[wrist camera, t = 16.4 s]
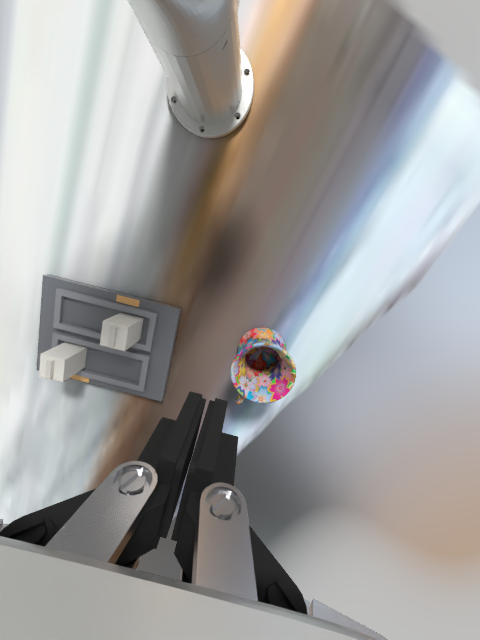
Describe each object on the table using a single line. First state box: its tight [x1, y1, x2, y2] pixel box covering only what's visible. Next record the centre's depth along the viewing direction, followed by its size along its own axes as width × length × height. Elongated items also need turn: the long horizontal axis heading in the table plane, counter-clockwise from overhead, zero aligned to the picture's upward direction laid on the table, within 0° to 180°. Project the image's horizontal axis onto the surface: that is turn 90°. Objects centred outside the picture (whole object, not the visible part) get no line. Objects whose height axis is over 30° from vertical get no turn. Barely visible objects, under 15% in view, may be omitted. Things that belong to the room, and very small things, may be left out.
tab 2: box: [100, 312, 144, 351], centre depth 45 cm, size 4×4×7 cm
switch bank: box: [37, 275, 182, 401], centre depth 50 cm, size 18×24×2 cm
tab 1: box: [39, 342, 87, 382], centre depth 47 cm, size 4×4×7 cm
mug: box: [231, 328, 296, 405], centre depth 45 cm, size 12×9×11 cm
